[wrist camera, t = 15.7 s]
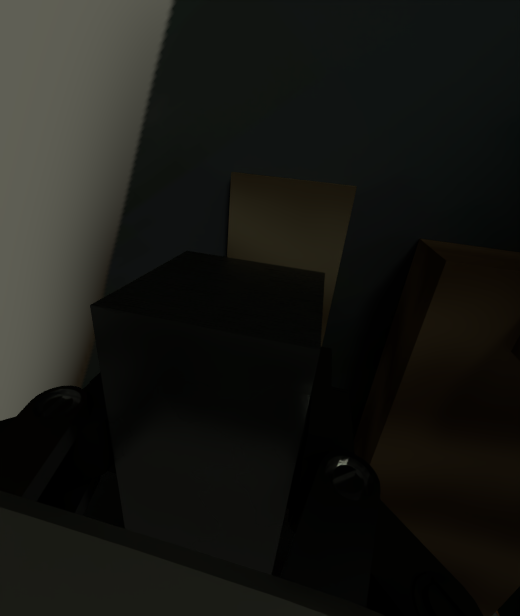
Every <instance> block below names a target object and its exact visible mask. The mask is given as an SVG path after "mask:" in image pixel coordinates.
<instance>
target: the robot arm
mask: <svg viewBox="0 0 520 616" xmlns="http://www.w3.org/2000/svg"><path fill="white" fill-rule="evenodd" d="M107 471H109V472H113V473H116V468H115V461H114V455H113V449H112V442H111V436H110V429H109V423H108V417H107V410H106V404H105V397H104V391H103V384H102V378H101V372H100V373H99V374H98V375H97V376H96V377H95V378H94V379H92V380H91V381H90V383H89V384H88V385H87V386H86V387H85V388H84V389H82V388H80V387H77V386H60V387H56V388H52V389H49V390H47V391H44V392H43V393H41V394H39V395H37V396H36V397H35V398H34V399H32V400H31V401H30V402H29V403H28V405H26V406H25V408H24V409H23V410H22V411H21V412H20V413H19V414H18V415H17V416H16V417H13V418H9V419H6V420H3V421H0V616H483V614H482V612H481V611H480V609H479V607H478V605H477V603H476V602H475V600H474V599H473V598H472V596H471V595H470V594H469V593H468V591H467V590H466V589H465V588H464V587H463V586H462V585H461V583H460V582H459V581H458V580H457V579H456V578H455V577H454V576H453V575H452V574H451V573H450V572H449V571H448V570H447V569H446V568H445V567H444V566H443V565H442V564H441V563H440V561H439V560H438V559H437V558H436V557H435V556H434V555H433V554H432V553H431V552H430V551H429V550H428V549H427V548H426V547H425V546H424V545H423V544H422V543H421V542H420V541H419V539H418V538H417V537H416V536H415V535H414V534H413V533H412V532H411V531H410V530H409V529H408V528H407V527H406V526H405V525H404V524H403V523H402V522H401V521H400V520H399V519H398V517H397V516H396V515H395V514H394V513H393V512H392V511H391V510H390V509H389V508H388V507H387V506H386V505H385V504H384V503H383V502H382V501H381V500H380V492H381V490H380V481H379V479H378V476H377V474H376V472H375V471H374V469H373V468H372V467H371V465H370V464H368V463H367V462H366V461H365V460H364V459H363V458H361V457H359V456H357V455H355V452H354V440H353V428H352V416H351V403H350V393H349V391H348V390H343V389H338V388H334V387H331V348H325V347H321V348H320V354H319V359H318V363H317V368H316V373H315V377H314V382H313V386H312V391H311V396H310V400H309V405H308V409H307V414H306V419H305V423H304V428H303V432H302V437H301V442H300V446H299V451H298V456H297V460H296V465H295V469H294V474H293V479H292V483H291V488H290V492H289V497H288V502H287V506H286V508H288V509H290V510H289V518H288V522H290V527H291V528H292V530H293V531H294V533H295V536H294V539H293V542H292V545H291V548H290V551H289V554H288V556H287V559H286V562H285V565H284V568H283V571H282V574H281V577H280V578H279V577H276V576H273V575H270V574H266V573H263V572H260V571H257V570H254V569H251V568H248V567H244V566H241V565H238V564H235V563H232V562H229V561H225V560H222V559H219V558H216V557H213V556H210V555H207V554H203V553H200V552H197V551H194V550H191V549H188V548H184V547H181V546H178V545H175V544H172V543H169V542H165V541H162V540H159V539H156V538H153V537H149V536H146V535H143V534H140V533H136V532H133V531H130V530H127V529H124V528H120V527H117V526H114V525H111V524H108V523H104V522H101V521H98V520H95V519H91V518H88V517H85V516H83V514H84V512H85V510H86V508H87V506H88V504H89V502H90V500H91V498H92V495H93V493H94V491H95V489H96V487H97V485H98V483H99V480H100V477H101V475H102V474H105V473H106V472H107Z"/></svg>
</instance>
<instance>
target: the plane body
mask: <svg viewBox="0 0 520 616" xmlns="http://www.w3.org/2000/svg"><path fill="white" fill-rule="evenodd" d="M354 452H355V455H357V456H359V457H361V458H363V459H364V460H365V461H366V462H367V463H368V464H370V465H371V467H372V468H373V469H374V471H375V472H376V474H377V476H378V479H379V481H380V490H381V492H380V500H381V501H382V502H383V503H384V504H385V505H386V506H387V507H388V508H389V509H390V510H391V511H392V512H393V513H394V514H395V515H396V516H397V517H398V519H399V520H400V521H401V522H402V523H403V524H404V525H405V526H406V527H407V528H408V529H409V530H410V531H411V532H412V533H413V534H414V535H415V536H416V537H417V538H418V539H419V541H420V542H421V543H422V544H423V545H424V546H425V547H426V548H427V549H428V550H429V551H430V552H431V553H432V554H433V555H434V556H435V557H436V558H437V559H438V560H439V561H440V563H441V564H442V565H443V566H444V567H445V568H446V569H447V570H448V571H449V572H450V573H451V574H452V575H453V576H454V577H455V578H456V579H457V580H458V581H459V582H460V583H461V585H462V586H463V587H464V588H465V589H466V590H467V591H468V593H469V594H470V595H471V596H472V598H473V599H474V600H475V602H476V603H477V605H478V607H479V609H480V611H481V612H482V614H483V616H492V615H493V614H494V613H495V612H496V611H497V610H498V609H499V608H500V607H501V606H502V605H503V604H504V602H505V601H506V600H507V599H508V598H509V597H510V596H511V595H512V594H513V593H514V592H515V591H516V590H517V589H518V587H519V586H520V252H514V251H507V250H499V249H492V248H485V247H477V246H470V245H463V244H455V243H448V242H441V241H434V240H426V239H419V242H418V245H417V248H416V251H415V254H414V257H413V260H412V263H411V266H410V269H409V272H408V276H407V279H406V282H405V285H404V288H403V291H402V294H401V297H400V300H399V303H398V306H397V309H396V312H395V316H394V319H393V322H392V325H391V328H390V331H389V334H388V337H387V340H386V343H385V346H384V349H383V352H382V356H381V359H380V362H379V365H378V368H377V371H376V374H375V377H374V380H373V383H372V386H371V389H370V392H369V396H368V399H367V402H366V405H365V408H364V411H363V414H362V417H361V420H360V423H359V426H358V429H357V432H356V436H355V439H354Z"/></svg>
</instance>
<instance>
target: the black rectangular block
mask: <svg viewBox="0 0 520 616" xmlns="http://www.w3.org/2000/svg"><path fill="white" fill-rule="evenodd" d="M324 281H325V273H324V272H317V271H311V270H305V269H298V268H292V267H286V266H279V265H273V264H267V263H260V262H254V261H248V260H241V259H235V258H229V257H222V256H216V255H210V254H203V253H197V252H191V251H186V252H184V253H182V254H180V255H179V256H177V257H175V258H173V259H171V260H170V261H168V262H166V263H164V264H163V265H161V266H159V267H157V268H155V269H154V270H152V271H150V272H148V273H146V274H145V275H143V276H141V277H139V278H138V279H136V280H134V281H132V282H130V283H129V284H127V285H125V286H123V287H122V288H120V289H118V290H116V291H114V292H113V293H111V294H109V295H107V296H105V297H104V298H102V299H100V300H98V301H97V302H95V303H93V304H91V305H90V308H91V313H92V320H93V327H94V333H95V340H96V346H97V352H98V359H99V365H100V372H101V378H102V384H103V391H104V397H105V404H106V410H107V417H108V423H109V429H110V436H111V442H112V449H113V455H114V461H115V468H116V474H117V481H118V487H119V493H120V500H121V506H122V513H123V519H124V525H125V529H127V530H130V531H133V532H136V533H140V534H143V535H146V536H149V537H153V538H156V539H159V540H162V541H165V542H169V543H172V544H175V545H178V546H181V547H184V548H188V549H191V550H194V551H197V552H200V553H203V554H207V555H210V556H213V557H216V558H219V559H222V560H225V561H229V562H232V563H235V564H238V565H241V566H244V567H248V568H251V569H254V570H257V571H260V572H263V573H266V574H270V575H272V571H273V566H274V561H275V557H276V552H277V548H278V543H279V538H280V534H281V529H282V525H283V520H284V515H285V511H286V506H287V502H288V497H289V492H290V488H291V483H292V479H293V474H294V469H295V465H296V460H297V456H298V451H299V446H300V442H301V437H302V432H303V428H304V423H305V419H306V414H307V409H308V405H309V400H310V396H311V391H312V386H313V382H314V377H315V373H316V368H317V363H318V359H319V354H320V348H321V331H322V315H323V298H324Z"/></svg>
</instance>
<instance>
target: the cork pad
mask: <svg viewBox="0 0 520 616" xmlns="http://www.w3.org/2000/svg"><path fill="white" fill-rule="evenodd" d="M356 188H357V187H356V186H349V185H341V184H332V183H323V182H315V181H306V180H297V179H289V178H280V177H271V176H263V175H254V174H245V173H237V172H231V188H230V208H229V228H228V248H227V257H229V258H235V259H241V260H248V261H254V262H260V263H267V264H273V265H279V266H286V267H292V268H298V269H305V270H311V271H317V272H324V273H325V281H324V298H323V315H322V331H321V347H322V343H323V338H324V334H325V329H326V325H327V320H328V315H329V311H330V306H331V302H332V297H333V293H334V288H335V283H336V279H337V274H338V270H339V265H340V261H341V256H342V251H343V247H344V242H345V238H346V233H347V229H348V224H349V219H350V215H351V210H352V206H353V201H354V197H355V192H356Z"/></svg>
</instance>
